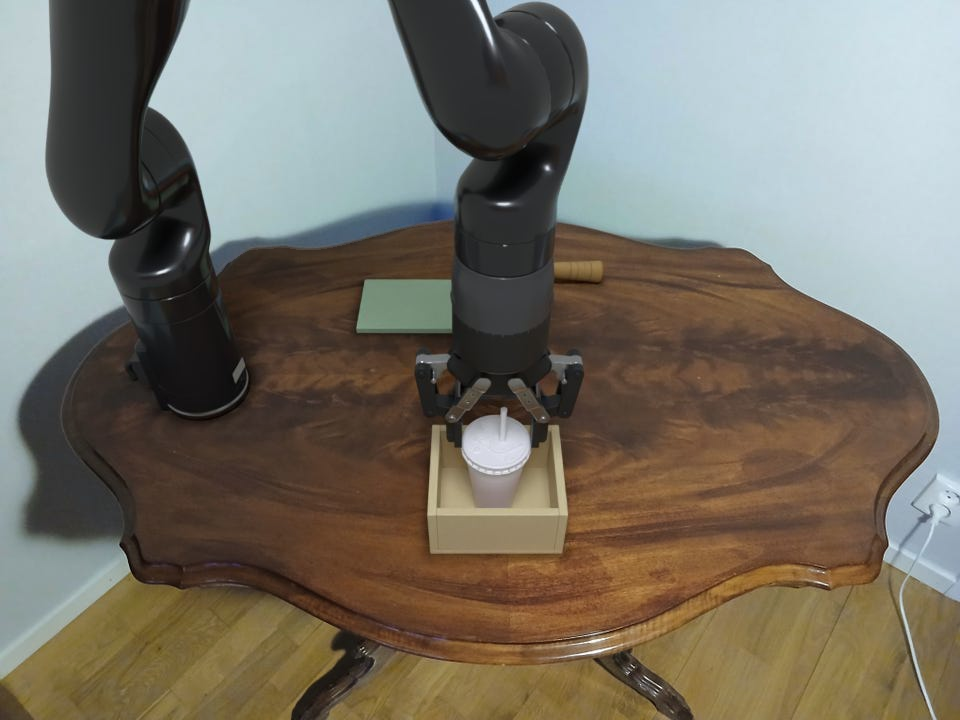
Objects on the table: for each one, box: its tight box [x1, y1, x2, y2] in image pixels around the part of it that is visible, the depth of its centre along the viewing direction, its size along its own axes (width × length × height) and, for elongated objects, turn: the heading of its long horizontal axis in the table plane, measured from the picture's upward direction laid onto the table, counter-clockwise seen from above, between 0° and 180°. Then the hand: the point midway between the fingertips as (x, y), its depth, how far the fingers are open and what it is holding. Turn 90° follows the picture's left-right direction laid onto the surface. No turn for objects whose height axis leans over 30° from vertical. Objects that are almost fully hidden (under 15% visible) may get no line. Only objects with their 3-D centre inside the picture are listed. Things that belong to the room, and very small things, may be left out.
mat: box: [356, 278, 452, 334], centre depth 95 cm, size 12×10×1 cm
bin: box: [426, 424, 569, 555], centre depth 71 cm, size 13×11×6 cm
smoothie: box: [461, 406, 531, 508], centre depth 68 cm, size 6×6×14 cm
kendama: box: [554, 260, 604, 283], centre depth 97 cm, size 8×6×18 cm
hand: (495, 440), depth 66 cm, fingers closed on smoothie, 6 cm apart
